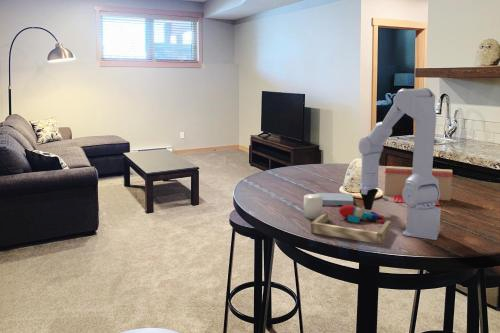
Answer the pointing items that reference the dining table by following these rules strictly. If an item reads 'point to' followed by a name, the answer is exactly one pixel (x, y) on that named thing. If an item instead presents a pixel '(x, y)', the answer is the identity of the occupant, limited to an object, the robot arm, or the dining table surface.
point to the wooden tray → (348, 231)
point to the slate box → (337, 199)
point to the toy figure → (358, 214)
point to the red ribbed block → (399, 175)
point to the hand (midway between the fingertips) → (368, 209)
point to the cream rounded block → (312, 206)
